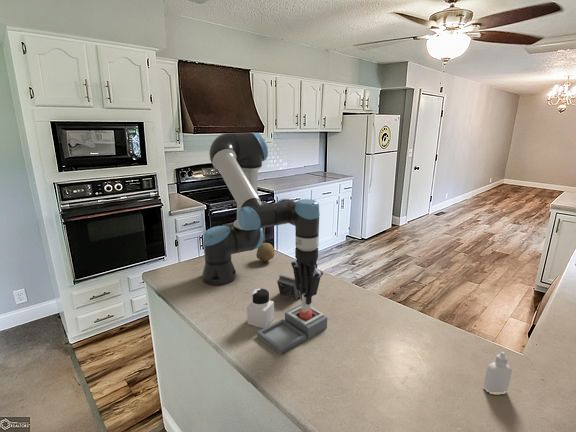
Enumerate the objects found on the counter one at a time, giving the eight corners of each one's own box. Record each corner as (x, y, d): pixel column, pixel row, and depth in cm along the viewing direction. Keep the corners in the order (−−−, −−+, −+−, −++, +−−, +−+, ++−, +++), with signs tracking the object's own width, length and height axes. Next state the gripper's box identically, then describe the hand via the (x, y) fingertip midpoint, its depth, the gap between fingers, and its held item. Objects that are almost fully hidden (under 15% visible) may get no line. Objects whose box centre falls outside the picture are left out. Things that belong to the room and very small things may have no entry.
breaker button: (296, 320, 114) (296, 311, 113) (305, 315, 117) (305, 306, 116) (305, 326, 111) (305, 316, 110) (314, 321, 114) (314, 311, 113)
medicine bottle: (274, 318, 118) (274, 288, 115) (265, 329, 112) (264, 298, 109) (257, 313, 121) (256, 284, 118) (247, 324, 115) (246, 293, 112)
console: (257, 336, 108) (256, 324, 107) (303, 312, 122) (303, 302, 120) (280, 355, 100) (280, 342, 99) (327, 327, 113) (327, 315, 112)
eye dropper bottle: (481, 381, 90) (489, 344, 86) (505, 388, 87) (514, 350, 84) (483, 393, 86) (491, 354, 82) (508, 400, 83) (517, 361, 80)
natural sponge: (278, 261, 166) (278, 243, 163) (265, 266, 160) (264, 248, 158) (267, 256, 173) (267, 238, 170) (254, 261, 167) (253, 243, 164)
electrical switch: (302, 297, 133) (301, 277, 130) (296, 303, 129) (294, 283, 126) (283, 291, 138) (282, 271, 134) (276, 297, 134) (275, 277, 130)
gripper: (285, 244, 109) (285, 307, 115) (312, 256, 99) (311, 323, 106) (301, 239, 113) (300, 299, 120) (329, 250, 104) (327, 314, 111)
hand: (305, 310), depth 113 cm, fingers closed
